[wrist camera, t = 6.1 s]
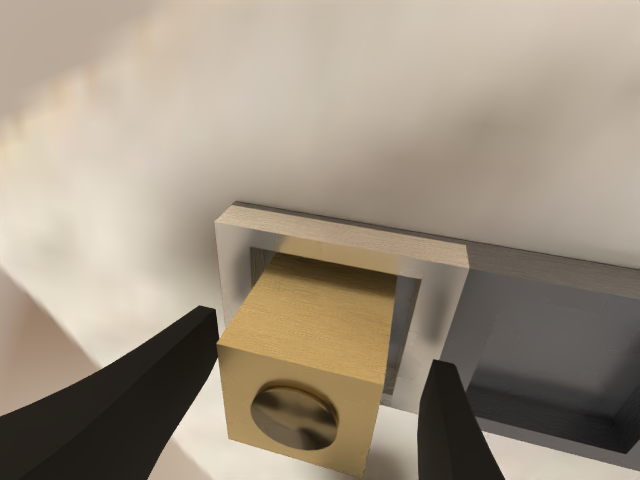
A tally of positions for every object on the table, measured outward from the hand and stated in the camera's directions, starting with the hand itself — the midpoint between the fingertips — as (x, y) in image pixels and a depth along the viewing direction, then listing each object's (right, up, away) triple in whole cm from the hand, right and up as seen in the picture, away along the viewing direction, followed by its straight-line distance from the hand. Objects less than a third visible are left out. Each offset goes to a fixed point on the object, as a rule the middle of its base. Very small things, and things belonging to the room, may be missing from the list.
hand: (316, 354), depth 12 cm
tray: (+5, +1, +2) cm, 5 cm away
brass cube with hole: (+1, +2, +2) cm, 3 cm away
